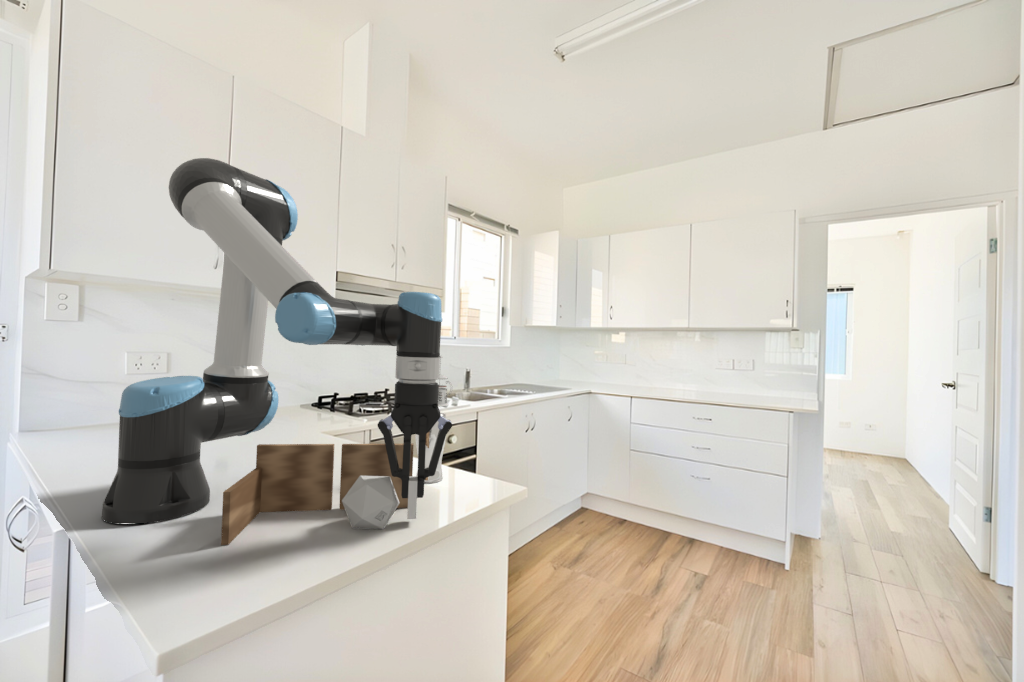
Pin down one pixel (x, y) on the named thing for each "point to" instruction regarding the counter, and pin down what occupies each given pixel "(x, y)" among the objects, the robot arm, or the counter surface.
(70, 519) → the counter surface
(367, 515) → the die
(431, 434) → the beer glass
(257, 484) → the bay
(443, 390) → the french press
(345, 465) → the panel
